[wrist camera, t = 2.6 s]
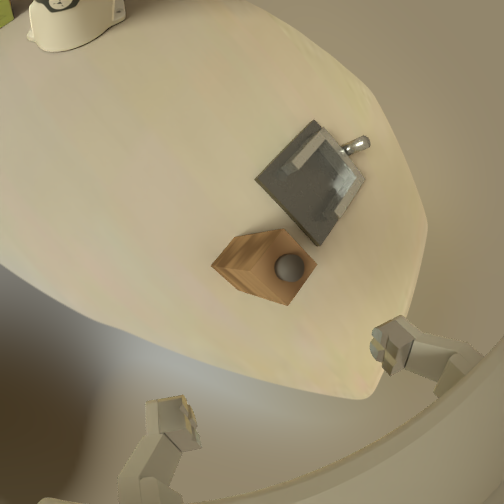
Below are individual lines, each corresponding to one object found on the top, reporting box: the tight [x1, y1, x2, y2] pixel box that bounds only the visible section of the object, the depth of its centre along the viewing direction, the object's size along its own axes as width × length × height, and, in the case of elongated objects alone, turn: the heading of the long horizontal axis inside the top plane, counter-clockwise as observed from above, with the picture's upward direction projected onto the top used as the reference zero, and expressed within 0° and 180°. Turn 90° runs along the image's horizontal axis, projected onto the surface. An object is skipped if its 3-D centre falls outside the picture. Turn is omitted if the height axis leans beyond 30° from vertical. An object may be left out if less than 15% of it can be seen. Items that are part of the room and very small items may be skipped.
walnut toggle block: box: [211, 229, 317, 306], centre depth 30 cm, size 5×5×14 cm
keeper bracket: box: [254, 120, 370, 246], centre depth 38 cm, size 16×14×8 cm
